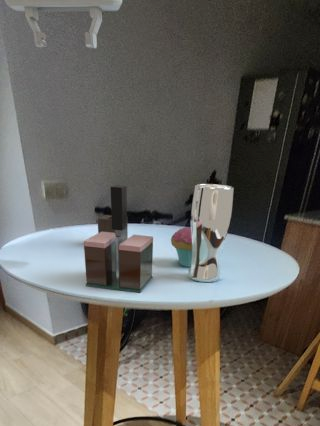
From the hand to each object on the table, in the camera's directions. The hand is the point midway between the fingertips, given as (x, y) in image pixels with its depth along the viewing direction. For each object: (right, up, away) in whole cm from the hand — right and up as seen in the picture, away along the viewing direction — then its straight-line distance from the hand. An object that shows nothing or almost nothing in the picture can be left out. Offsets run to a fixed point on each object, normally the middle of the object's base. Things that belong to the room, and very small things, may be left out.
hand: (66, 47), depth 64 cm
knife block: (+5, -25, +23) cm, 34 cm away
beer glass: (+25, -39, +6) cm, 46 cm away
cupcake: (+23, -33, +13) cm, 42 cm away
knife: (+10, -41, +1) cm, 42 cm away
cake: (+9, -41, +1) cm, 42 cm away
